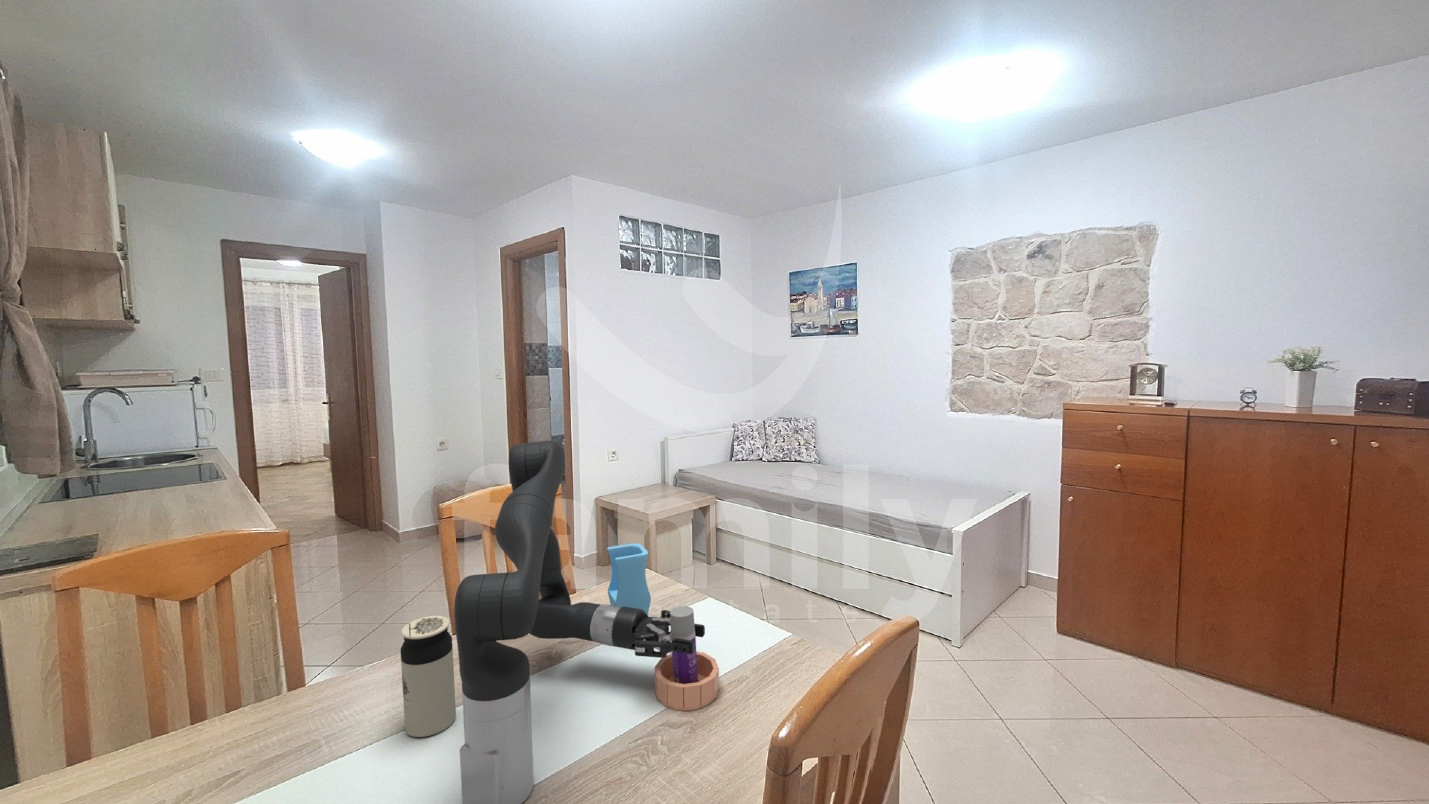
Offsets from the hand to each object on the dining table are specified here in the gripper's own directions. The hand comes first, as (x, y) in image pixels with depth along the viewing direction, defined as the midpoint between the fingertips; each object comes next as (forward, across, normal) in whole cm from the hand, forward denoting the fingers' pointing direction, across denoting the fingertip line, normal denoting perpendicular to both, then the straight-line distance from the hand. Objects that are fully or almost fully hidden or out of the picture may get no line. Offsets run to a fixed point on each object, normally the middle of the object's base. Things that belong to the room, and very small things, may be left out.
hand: (698, 639), depth 104 cm
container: (-3, 0, +10) cm, 10 cm away
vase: (-22, +16, +11) cm, 30 cm away
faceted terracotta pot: (-2, 0, +11) cm, 11 cm away
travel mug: (-42, -22, +11) cm, 49 cm away
